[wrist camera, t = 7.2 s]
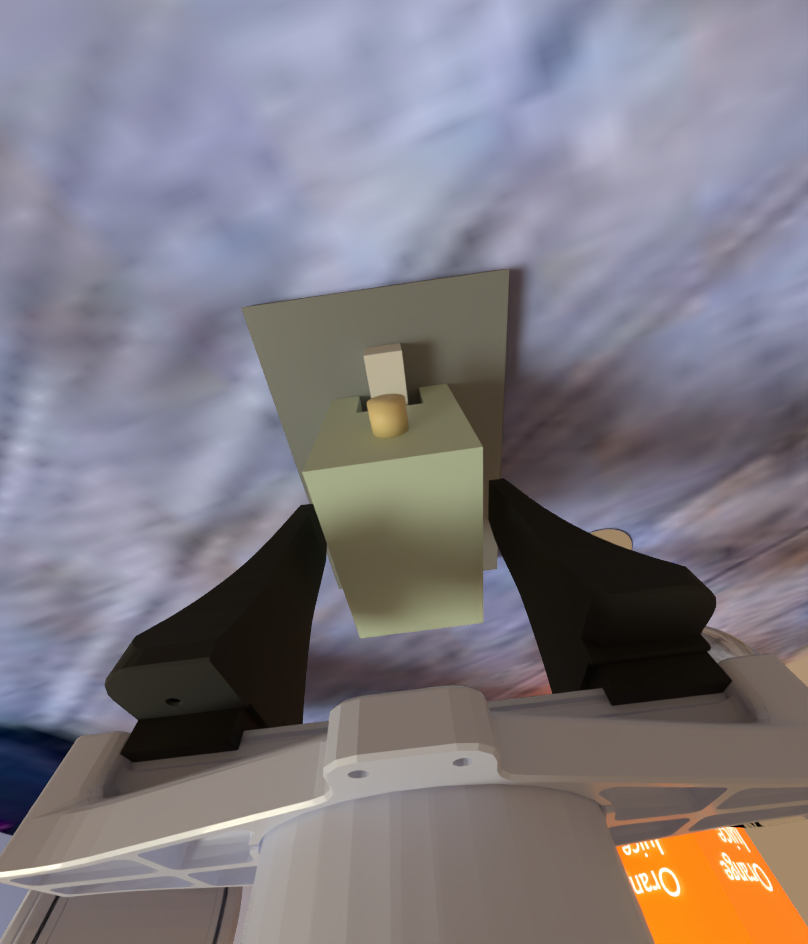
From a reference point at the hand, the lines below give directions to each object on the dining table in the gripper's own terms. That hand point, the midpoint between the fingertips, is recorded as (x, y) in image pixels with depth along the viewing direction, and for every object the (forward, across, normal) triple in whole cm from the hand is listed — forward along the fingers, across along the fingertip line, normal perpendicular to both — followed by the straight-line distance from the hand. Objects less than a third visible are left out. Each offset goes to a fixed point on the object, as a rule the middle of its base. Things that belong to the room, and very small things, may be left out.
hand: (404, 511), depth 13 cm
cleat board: (+4, 0, 0) cm, 4 cm away
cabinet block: (+3, 0, 0) cm, 3 cm away
